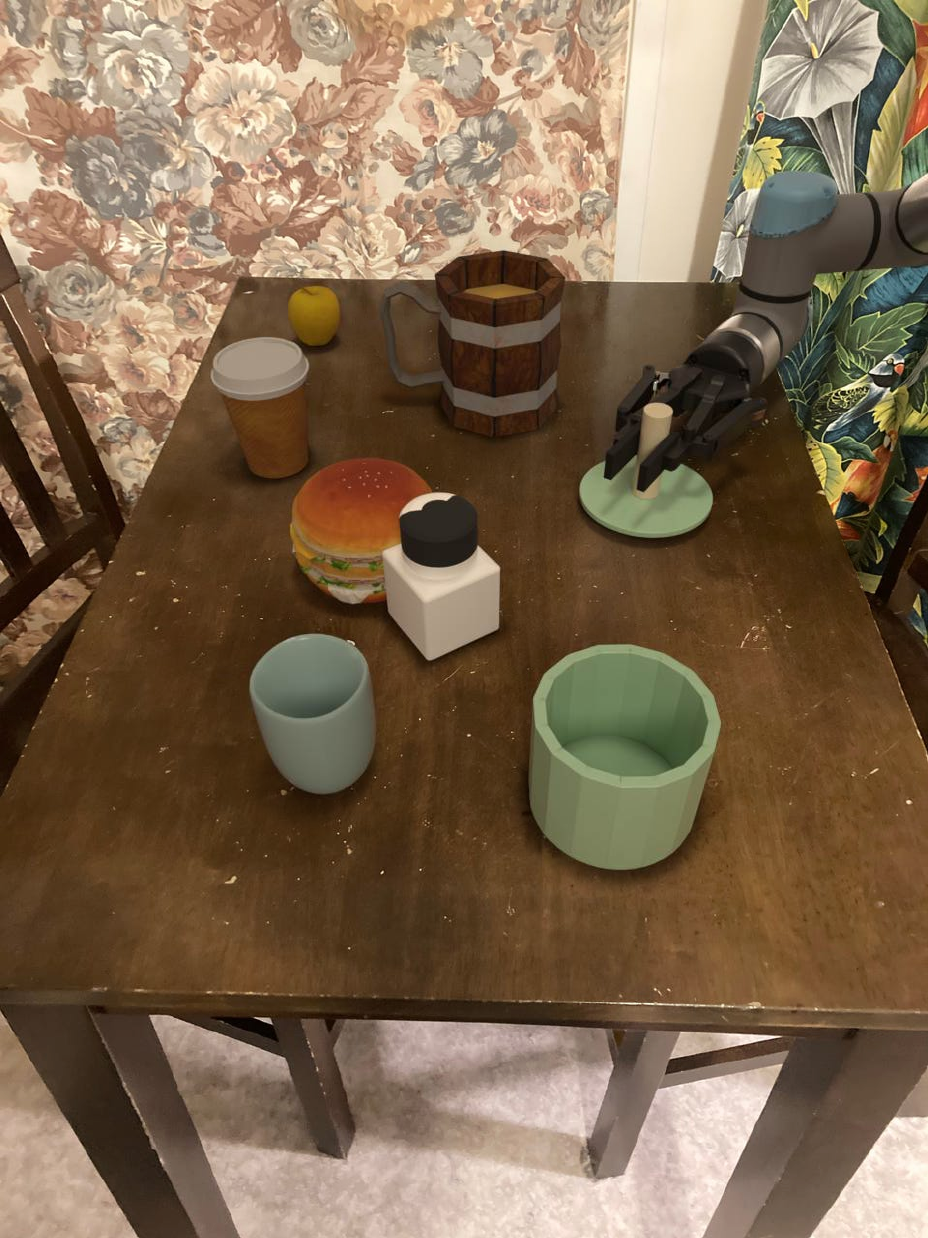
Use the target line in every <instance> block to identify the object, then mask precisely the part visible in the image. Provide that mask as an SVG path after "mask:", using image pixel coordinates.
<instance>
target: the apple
mask: <svg viewBox="0 0 928 1238" xmlns="http://www.w3.org/2000/svg"><path fill="white" fill-rule="evenodd" d="M299 288H300V289H298V290H296V291H294V293H293V294H292V295H291V297H290V298H289V300H288V305H287V316H288V320H289V324H290V326H291V327H292V329H293V331H294V332H295V334H296V335H297V338H298V339H299V340H300V341H301V342H302V343H303V344H306V345H308V346H309V347H317V346H321V347H322V346H326V345H327V344H329V342H330V341H331V340H332V339H333V337H334V336H335V334H336V333H337V330H338V328H339V326H340V321H341V308H340V303H339V300H338V297H337V295H336V294H335V293H334V292H333V291H332V290H331V289H330V288H329V287H326V286H322V285H310V286H305V287H303V286H301V285H299Z"/></svg>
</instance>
